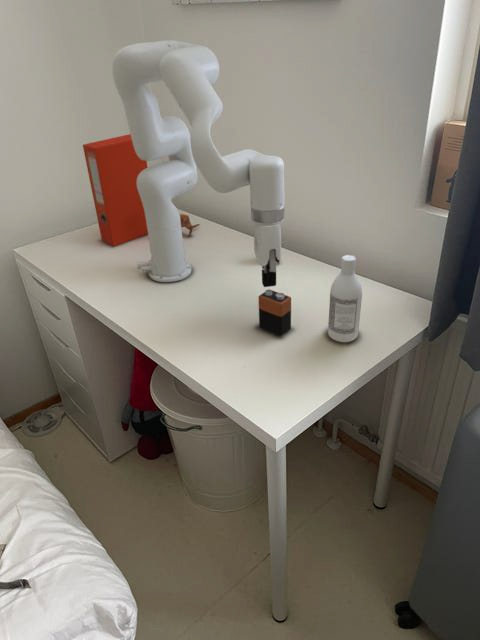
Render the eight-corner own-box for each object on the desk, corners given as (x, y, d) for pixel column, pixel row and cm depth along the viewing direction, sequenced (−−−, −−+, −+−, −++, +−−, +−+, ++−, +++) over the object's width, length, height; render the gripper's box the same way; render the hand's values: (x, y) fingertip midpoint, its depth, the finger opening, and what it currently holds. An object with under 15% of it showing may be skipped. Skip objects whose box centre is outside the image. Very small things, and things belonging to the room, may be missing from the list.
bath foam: (337, 323, 122) (342, 248, 111) (363, 333, 118) (371, 255, 107) (322, 336, 118) (326, 259, 107) (348, 346, 114) (355, 267, 103)
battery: (281, 337, 118) (281, 301, 113) (258, 328, 122) (257, 292, 116) (291, 329, 121) (292, 293, 115) (269, 320, 125) (268, 285, 119)
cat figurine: (193, 225, 180) (189, 188, 172) (206, 229, 176) (203, 191, 169) (156, 243, 168) (150, 203, 161) (170, 247, 164) (165, 207, 157)
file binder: (156, 231, 177) (143, 137, 159) (114, 246, 167) (95, 148, 150) (143, 225, 182) (129, 133, 164) (101, 240, 172) (82, 144, 155)
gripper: (245, 204, 119) (249, 273, 129) (257, 227, 106) (259, 301, 116) (276, 201, 120) (277, 270, 129) (291, 223, 107) (291, 297, 117)
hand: (269, 284), depth 123 cm, fingers closed
